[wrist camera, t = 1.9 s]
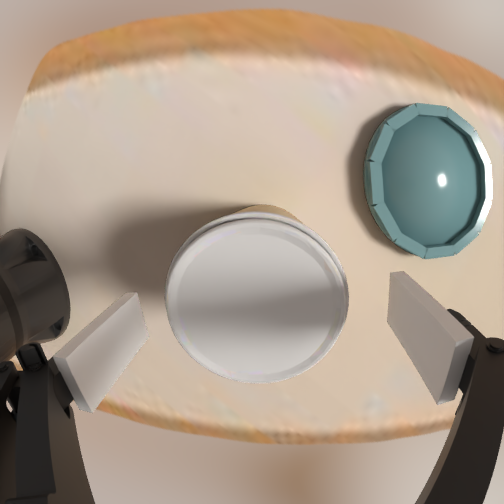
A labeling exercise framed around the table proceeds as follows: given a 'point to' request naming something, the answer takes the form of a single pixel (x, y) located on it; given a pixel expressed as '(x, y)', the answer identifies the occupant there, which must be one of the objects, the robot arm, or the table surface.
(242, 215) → the coffee cup
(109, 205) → the table surface
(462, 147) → the saucer
